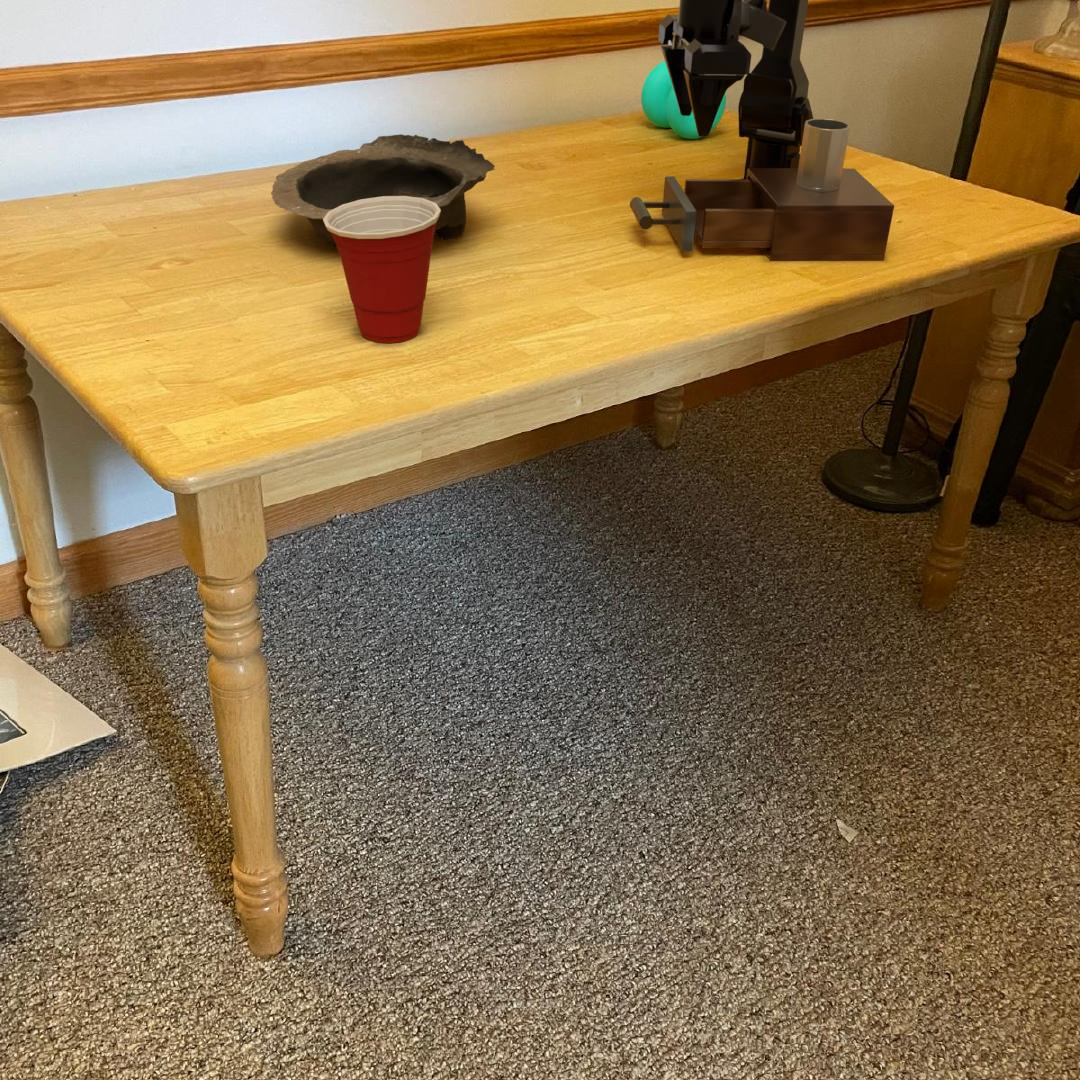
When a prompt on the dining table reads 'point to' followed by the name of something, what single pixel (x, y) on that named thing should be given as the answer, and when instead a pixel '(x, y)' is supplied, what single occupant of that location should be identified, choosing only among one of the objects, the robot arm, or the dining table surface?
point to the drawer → (712, 213)
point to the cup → (822, 155)
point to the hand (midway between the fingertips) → (694, 125)
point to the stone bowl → (385, 179)
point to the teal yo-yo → (669, 104)
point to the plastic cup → (386, 261)
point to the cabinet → (824, 218)
